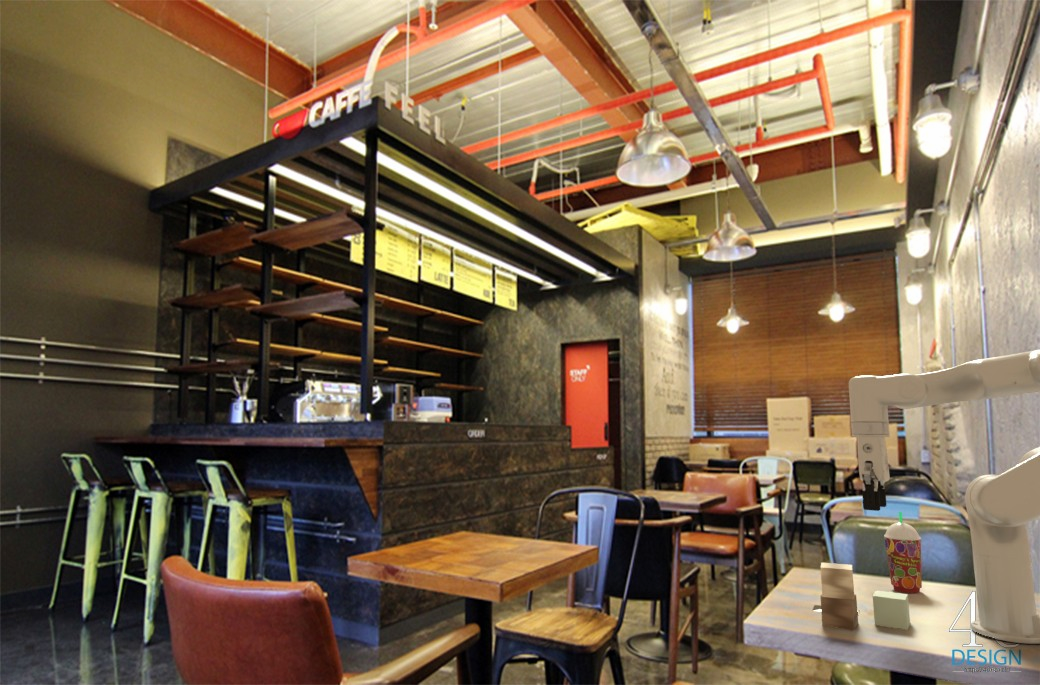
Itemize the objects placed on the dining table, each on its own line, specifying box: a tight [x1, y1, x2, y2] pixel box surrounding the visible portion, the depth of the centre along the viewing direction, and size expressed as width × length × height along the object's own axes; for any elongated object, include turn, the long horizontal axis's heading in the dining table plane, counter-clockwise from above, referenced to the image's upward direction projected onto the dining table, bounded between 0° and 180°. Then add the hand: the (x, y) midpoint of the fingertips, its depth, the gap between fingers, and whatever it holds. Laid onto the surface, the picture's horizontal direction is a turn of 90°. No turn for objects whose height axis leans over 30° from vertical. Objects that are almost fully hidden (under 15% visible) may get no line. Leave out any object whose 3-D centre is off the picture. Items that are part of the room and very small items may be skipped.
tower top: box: [820, 562, 855, 600], centre depth 136 cm, size 6×6×6 cm
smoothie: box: [883, 511, 923, 594], centre depth 166 cm, size 8×8×20 cm
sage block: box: [872, 590, 911, 630], centre depth 136 cm, size 6×6×6 cm
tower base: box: [820, 593, 859, 631], centre depth 135 cm, size 6×6×6 cm
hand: (875, 508), depth 141 cm, fingers open, 9 cm apart
